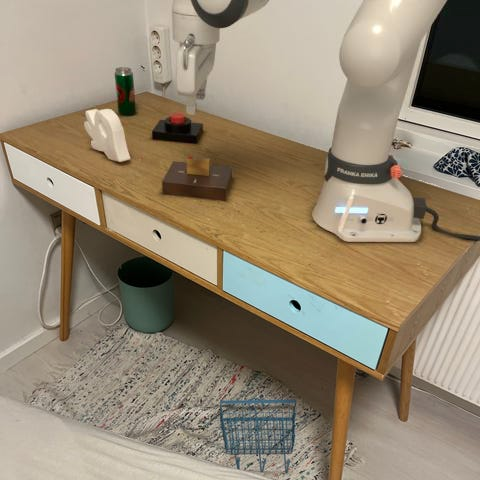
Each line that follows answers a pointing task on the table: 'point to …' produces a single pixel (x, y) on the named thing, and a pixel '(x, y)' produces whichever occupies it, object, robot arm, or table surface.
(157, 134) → the button base
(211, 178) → the lock plate
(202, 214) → the table surface
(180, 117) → the lock button
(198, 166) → the lock turn
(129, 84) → the soda can
